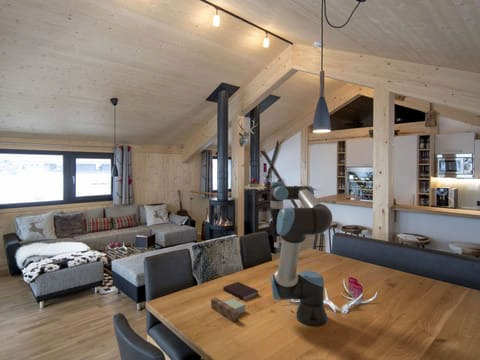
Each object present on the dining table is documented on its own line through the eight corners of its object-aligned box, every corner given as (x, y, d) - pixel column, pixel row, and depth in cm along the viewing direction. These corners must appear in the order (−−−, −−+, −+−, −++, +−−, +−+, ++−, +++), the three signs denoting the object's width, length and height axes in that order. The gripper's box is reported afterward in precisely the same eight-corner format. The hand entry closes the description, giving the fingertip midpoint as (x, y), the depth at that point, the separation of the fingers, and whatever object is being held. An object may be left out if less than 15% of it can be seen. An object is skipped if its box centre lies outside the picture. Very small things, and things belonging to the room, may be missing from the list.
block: (245, 311, 157) (245, 304, 157) (234, 316, 152) (234, 309, 152) (232, 305, 165) (232, 298, 164) (221, 310, 159) (221, 303, 159)
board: (238, 320, 147) (238, 310, 147) (233, 322, 146) (233, 312, 145) (215, 306, 163) (215, 297, 163) (211, 307, 161) (211, 298, 161)
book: (243, 301, 170) (243, 296, 169) (223, 291, 184) (223, 285, 184) (258, 295, 178) (258, 290, 177) (238, 286, 192) (238, 281, 192)
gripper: (279, 206, 182) (279, 244, 182) (264, 208, 173) (264, 247, 174) (288, 207, 176) (288, 246, 177) (273, 209, 167) (273, 250, 168)
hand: (276, 247), depth 175 cm, fingers closed
